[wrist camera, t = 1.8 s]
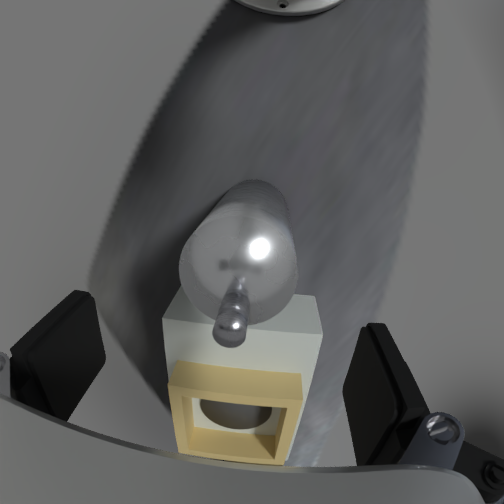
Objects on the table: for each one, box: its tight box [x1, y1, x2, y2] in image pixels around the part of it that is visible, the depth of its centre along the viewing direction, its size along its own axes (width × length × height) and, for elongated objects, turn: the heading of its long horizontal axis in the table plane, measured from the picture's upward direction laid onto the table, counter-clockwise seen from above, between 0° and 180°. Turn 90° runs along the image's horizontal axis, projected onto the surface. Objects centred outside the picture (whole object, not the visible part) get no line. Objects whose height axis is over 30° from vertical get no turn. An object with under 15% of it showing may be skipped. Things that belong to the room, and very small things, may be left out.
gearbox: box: [162, 285, 323, 465], centre depth 27 cm, size 18×12×9 cm, turn 176°
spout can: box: [179, 180, 298, 348], centre depth 19 cm, size 6×6×14 cm
